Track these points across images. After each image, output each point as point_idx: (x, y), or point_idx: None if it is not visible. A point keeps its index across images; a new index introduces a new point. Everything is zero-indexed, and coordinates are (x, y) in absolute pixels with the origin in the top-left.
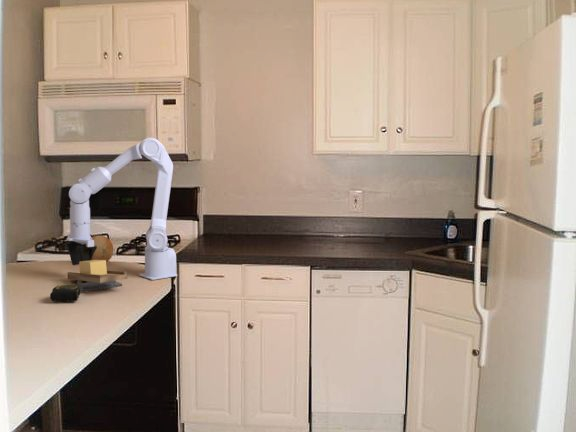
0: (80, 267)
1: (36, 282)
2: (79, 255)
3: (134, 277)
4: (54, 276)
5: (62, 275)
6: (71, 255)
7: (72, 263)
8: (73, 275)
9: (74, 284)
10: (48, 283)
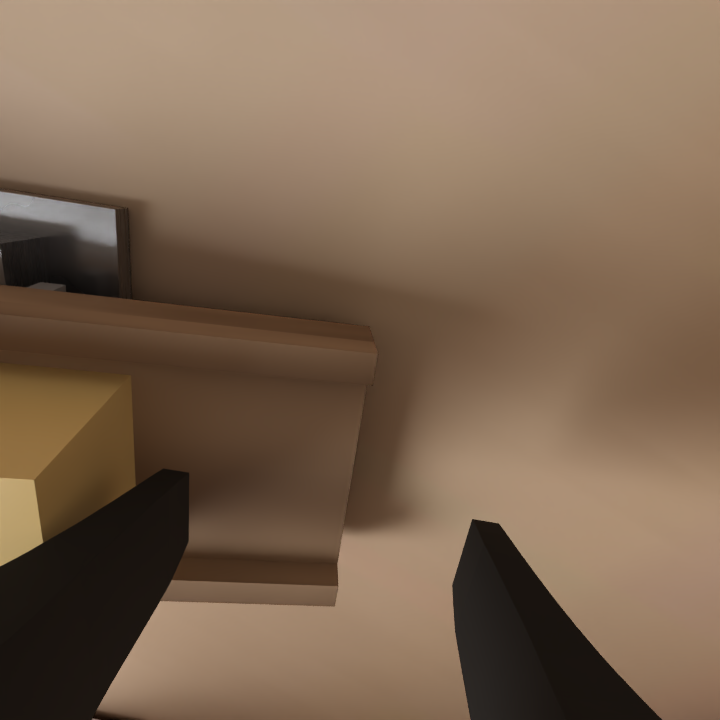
0: (53, 422)
1: (608, 15)
2: (478, 714)
3: (131, 688)
4: (672, 339)
5: (633, 415)
6: (525, 635)
7: (488, 531)
8: (185, 322)
9: (103, 246)
10: (440, 109)
